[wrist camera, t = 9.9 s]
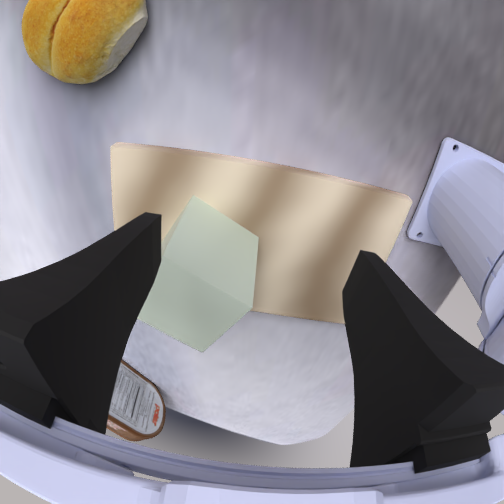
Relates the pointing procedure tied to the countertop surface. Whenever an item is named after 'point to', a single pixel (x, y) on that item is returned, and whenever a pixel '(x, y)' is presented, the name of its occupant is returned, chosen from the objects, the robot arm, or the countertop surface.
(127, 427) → the tin
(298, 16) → the countertop surface
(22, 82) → the countertop surface
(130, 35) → the bread roll
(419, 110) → the countertop surface
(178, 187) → the board
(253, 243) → the pale green block
